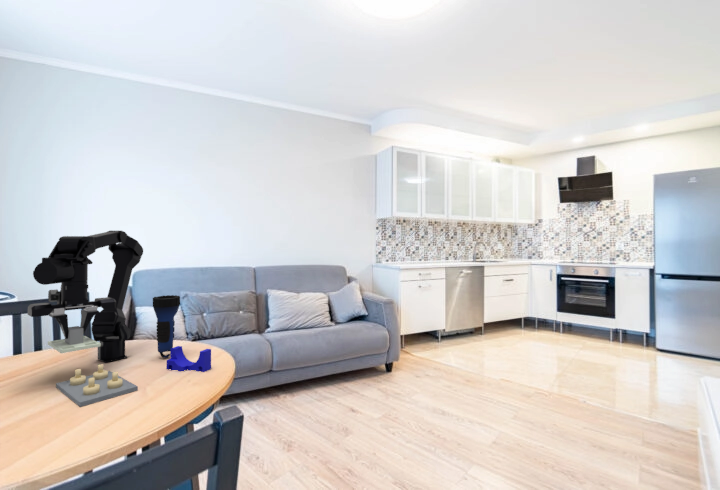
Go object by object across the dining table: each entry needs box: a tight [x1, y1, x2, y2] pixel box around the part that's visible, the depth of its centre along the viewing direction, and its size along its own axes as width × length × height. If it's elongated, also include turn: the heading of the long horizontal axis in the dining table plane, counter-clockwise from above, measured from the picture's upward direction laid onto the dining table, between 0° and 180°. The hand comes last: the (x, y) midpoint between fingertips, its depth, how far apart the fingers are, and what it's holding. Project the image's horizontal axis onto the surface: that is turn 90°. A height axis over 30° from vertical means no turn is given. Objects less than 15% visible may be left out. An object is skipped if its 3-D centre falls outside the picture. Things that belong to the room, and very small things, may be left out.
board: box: [47, 325, 101, 354], centre depth 101 cm, size 9×14×5 cm, turn 51°
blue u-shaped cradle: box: [166, 345, 212, 373], centre depth 108 cm, size 12×4×6 cm, turn 74°
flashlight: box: [152, 294, 181, 359], centre depth 119 cm, size 8×8×20 cm
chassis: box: [55, 363, 139, 408], centre depth 93 cm, size 12×19×4 cm, turn 53°
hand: (74, 337), depth 101 cm, fingers closed on board, 3 cm apart
